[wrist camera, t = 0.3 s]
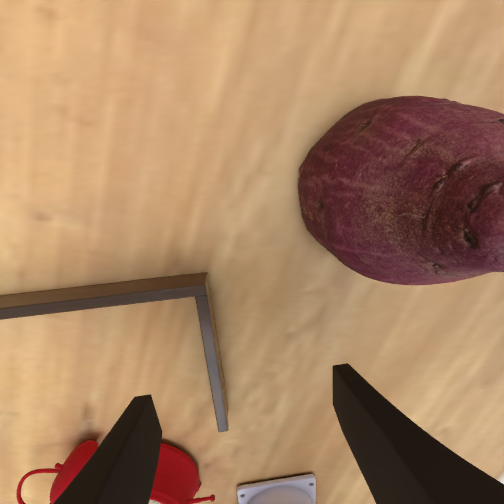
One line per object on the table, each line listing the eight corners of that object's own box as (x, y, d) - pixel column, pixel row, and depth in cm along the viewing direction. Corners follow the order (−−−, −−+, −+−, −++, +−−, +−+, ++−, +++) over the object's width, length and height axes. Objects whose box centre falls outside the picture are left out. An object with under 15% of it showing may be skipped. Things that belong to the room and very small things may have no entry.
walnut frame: (228, 409, 24) (228, 431, 22) (-20, 445, 23) (-41, 471, 21) (207, 271, 20) (205, 284, 18) (-104, 307, 18) (-142, 324, 16)
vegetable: (274, 217, 22) (218, 335, 8) (344, 77, 18) (467, -158, 4) (393, 276, 22) (540, 496, 8) (490, 149, 18) (1131, 155, 4)
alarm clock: (187, 567, 25) (-25, 620, 19) (181, 489, 31) (15, 510, 24) (225, 495, 22) (-10, 529, 16) (212, 422, 28) (32, 428, 22)
